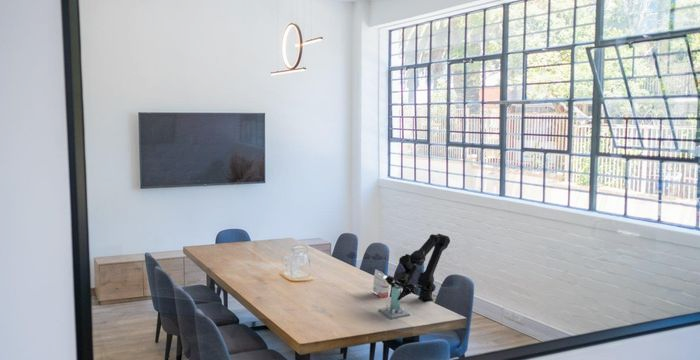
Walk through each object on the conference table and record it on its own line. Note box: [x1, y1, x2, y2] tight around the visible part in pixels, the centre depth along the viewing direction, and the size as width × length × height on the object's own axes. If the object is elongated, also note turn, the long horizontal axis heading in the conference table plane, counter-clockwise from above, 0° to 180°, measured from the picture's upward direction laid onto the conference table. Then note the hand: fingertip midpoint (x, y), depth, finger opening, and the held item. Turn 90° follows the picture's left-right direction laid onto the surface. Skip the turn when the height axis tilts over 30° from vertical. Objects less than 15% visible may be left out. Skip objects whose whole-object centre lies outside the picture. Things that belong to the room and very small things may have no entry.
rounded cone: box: [389, 286, 402, 311], centre depth 332 cm, size 5×5×12 cm
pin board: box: [378, 304, 411, 320], centre depth 333 cm, size 12×12×4 cm
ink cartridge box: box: [372, 268, 390, 299], centre depth 355 cm, size 9×5×15 cm, turn 37°
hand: (394, 298), depth 330 cm, fingers closed on rounded cone, 5 cm apart
